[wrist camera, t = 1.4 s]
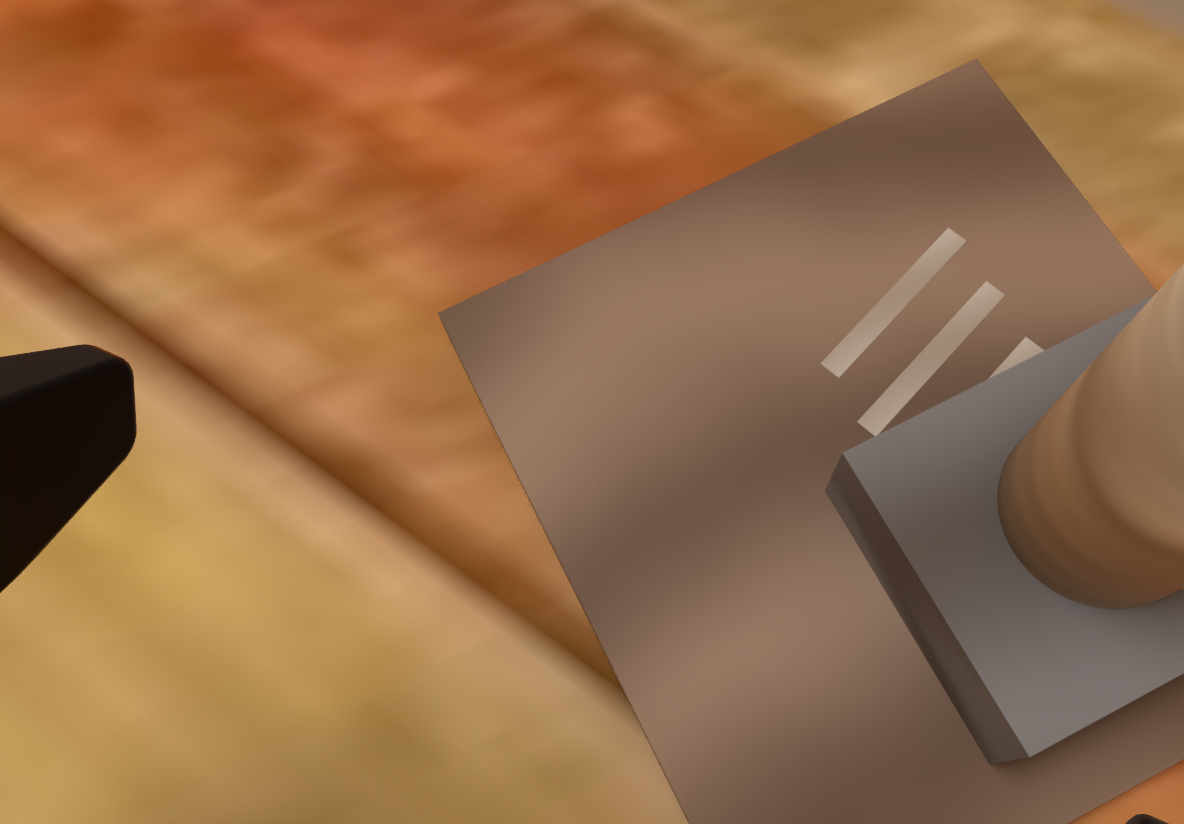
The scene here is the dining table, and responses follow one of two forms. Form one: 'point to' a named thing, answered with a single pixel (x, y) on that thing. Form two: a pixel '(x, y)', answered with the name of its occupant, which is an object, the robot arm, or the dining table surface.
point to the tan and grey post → (1039, 529)
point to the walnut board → (800, 453)
